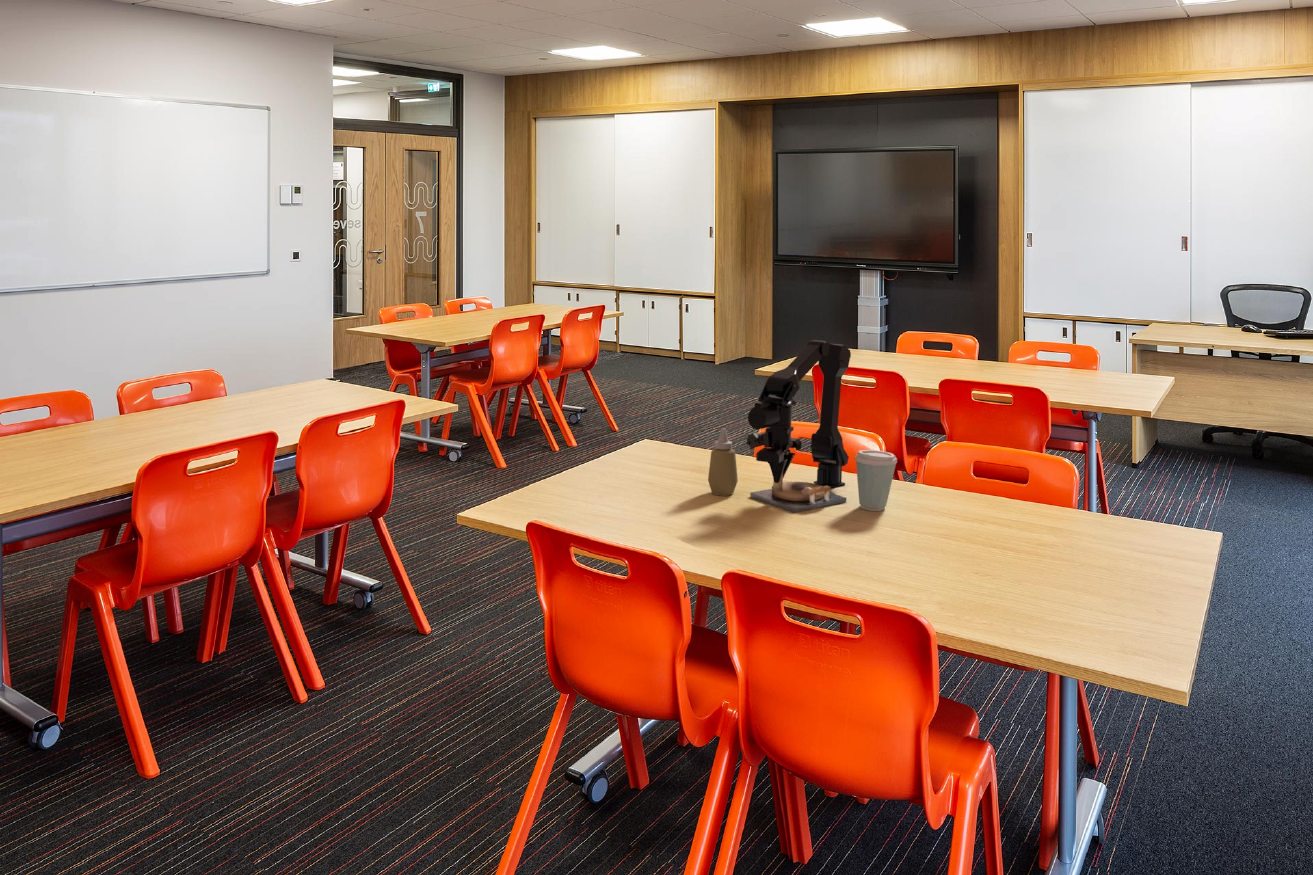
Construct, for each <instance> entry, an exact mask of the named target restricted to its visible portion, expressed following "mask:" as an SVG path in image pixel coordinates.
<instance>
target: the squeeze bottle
mask: <svg viewBox="0 0 1313 875" xmlns="http://www.w3.org/2000/svg"><path fill="white" fill-rule="evenodd" d="M719 434H720V435H719V438H718V440H716V441H714V449H712V450H711V452H710V460H709V467H708V468H709V469H708V476H707V477H708V478H707V481H708V484H709V488H710V492H711V493H712V495H716V496H726V497H727V496H731V495H733V494H734V493H735V490H736V487H737V484H738V482H739V479H738V468H737V457H736V451H735V450H734V449H733V442H732V441H730V440H729V438H728V432H727V428H721V429H720V433H719Z"/></svg>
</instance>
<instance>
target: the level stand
mask: <svg viewBox="0 0 1313 875" xmlns="http://www.w3.org/2000/svg"><path fill="white" fill-rule="evenodd" d="M831 488H832V487H829V486H822V487H818V488H812V489H809V491H808V493H810V495H809V501H790V500H784V499H780V498H777V497H775V496H773V495H772V488H768V489H763V490H758V491H753V492H750V494H749V496H750V498H751V499H756V500H758V501H760V502H763V503H766V504H770V505H773V506H775V507H777V508H780V509H783V510H786V511H789V512H792V513H799V512H800V513H801V512H805V511H810V510H815V509H820V508H824V507H829V506H833V505H834V506H835V505H839V504H844V503H847V497H846V496H842V495H840V494H839V495H838V494H836V493H833V492H830V491H831ZM821 492H824V497H823V498H821V499H818V500H815V493H821Z"/></svg>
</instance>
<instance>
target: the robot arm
mask: <svg viewBox="0 0 1313 875" xmlns="http://www.w3.org/2000/svg"><path fill="white" fill-rule="evenodd" d="M851 357H852V356H851V350H850V349H849V347H848V346H847V345H846V344H839V343H829V342H826V340H815V339H813V340H810V341H808V342H807V345H806V347H805V348H804V349H803V350H802V351H801V352H800V353H799V354H798V355H797V356H796V357H795V358H794V359H793V360H792V361H791V362H790V364H788V365H787V367H784V368H782V369H780V370H777V371H775V372H773V373H772V374H771V375H770V376H768V378H767V379H766V382H765V384H764V387H763V388H762V390H761V393H760V396H759V397H758V401H756V402H754V407H752V408H751V409H750V410H749V412H748V415H747V421H748V423H749V425H750V427H751V428H753V429H755V430H762V429H765V430H764V431H763V432H759V433H757V432H753V433H749V434H748V435H747V437H746V442H745V443H746V445H747V446H749V448H750V450H753V449H755V448H759V447H762V446H764V447H763V448H761V449H759V450H758V451H757V452H756V454H755V457H756V458H755V461H757V462H763V463H764V462H765V463H768V465H769V467H770V471H771V475H772V478H773V479H774V482H775V483H779V481H780V478H781V476H782V473H783V479H784V478H785V475H786V473H787V471H788V469H789V467H790V465H791V463H792V461H793V459H794V457H795V456H796V453H795V452H791V449H795V450H796V451H797V452H798V451H800V450H802V441H801V440H800V439H799V438H798V437H796V438H795V437H791V436H792V432H793V431H794V426H792V415H793V414H792V412H793V411H792V407H793V406H796V405H797V401H796V400H795V399H794V397H795V395H796V394H797V393H798V391H799V390H800V386H801V384H800V383H801V381H802V379H803V378H804V377H805V376H806V375H807V374H808V373H809V372H810V371H811V370H812V368H813V367H815V365H816V364H818V367H819V369H820V371H821V374H822V375H823V380H822V389H821V390H822V393H821V403H820V404H821V405H820V417H819V418H820V419H819V428H817V430H816V431H815V432H813V433H812V434H811V436H810V437H811V440H810V441H811V442H810V446H809V447H810V451H811V456H812V462H813V463H818V464H817V466H818V467H817V469H816V472H817V473H816V480H815V481H813V483H814V484H817V485H820V486H822V487H823V486H829V487H831V488H835V487H841V486H845V485H846V482H844V481H842V478H843V474H842V473H843V472H842V471H843V467H846V466H847V465H848V462H849V458H850V456H849V455H848V453H847V452H846V450H845V448H844V447H843V444H844V443H843V437H842V435H841V432H840V431H839V427H838V425H839V415H840V414H839V412H840V402H841V391H842V390H841V389H842V378H843V376H844V374H845V373H846V372H847V370H848V369H849V366H850V360H851Z"/></svg>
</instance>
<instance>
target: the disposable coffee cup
mask: <svg viewBox="0 0 1313 875" xmlns="http://www.w3.org/2000/svg"><path fill="white" fill-rule="evenodd" d="M854 460H855V465H856V466H855V467H856V468H855V469H856V477H857V490H858V504H859V506H860V508H861V509H862V510H865V511H872V512H880V511H884V510H885V508H886V507H887V503H888V499H889V495H890V491H891V485H892V482H893V478H894V473H895V469H896V465H897V463H898V458H897V457H896V454H895V455H894V453H892V452H888V451H883V450H876V449H875V450H874V449H862V450H861V449H860V450H858V451H857V454H855V457H854Z"/></svg>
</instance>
